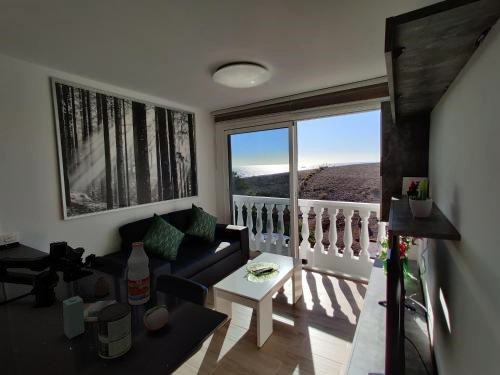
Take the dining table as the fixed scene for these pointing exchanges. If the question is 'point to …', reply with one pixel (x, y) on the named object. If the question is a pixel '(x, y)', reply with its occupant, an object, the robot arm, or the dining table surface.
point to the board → (86, 308)
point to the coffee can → (114, 330)
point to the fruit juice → (138, 275)
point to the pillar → (73, 317)
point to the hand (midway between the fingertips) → (99, 269)
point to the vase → (101, 287)
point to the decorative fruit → (156, 317)
